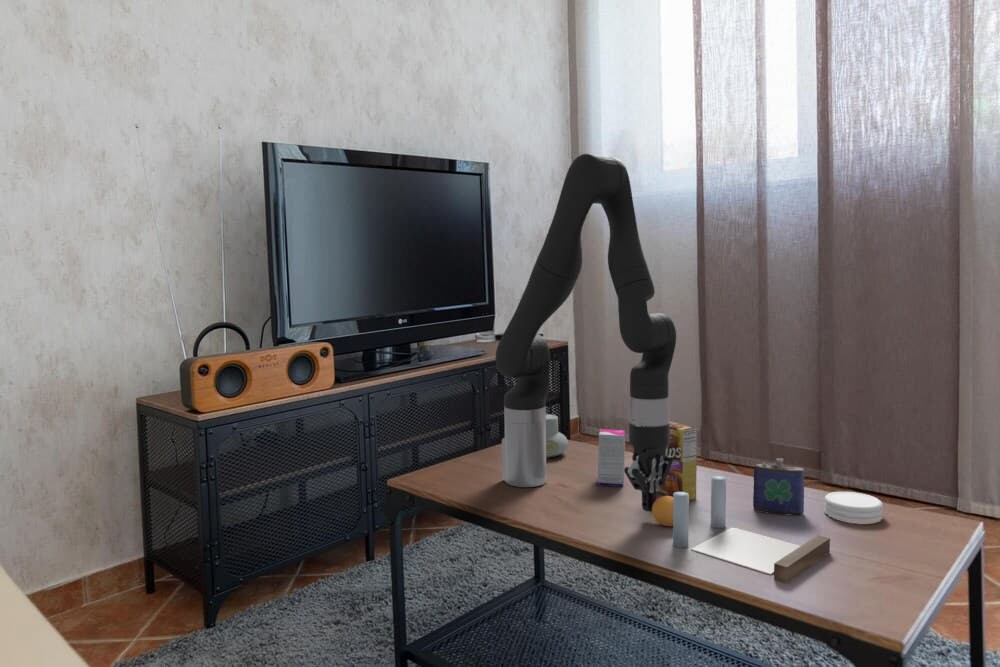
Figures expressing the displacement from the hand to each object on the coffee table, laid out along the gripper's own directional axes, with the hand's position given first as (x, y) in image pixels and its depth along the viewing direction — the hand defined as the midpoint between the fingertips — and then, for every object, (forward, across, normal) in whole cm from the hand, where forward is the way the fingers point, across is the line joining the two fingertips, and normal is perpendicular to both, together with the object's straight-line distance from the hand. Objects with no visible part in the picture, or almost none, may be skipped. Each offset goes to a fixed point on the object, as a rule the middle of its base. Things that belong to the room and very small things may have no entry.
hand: (649, 510), depth 135 cm
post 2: (+2, -6, +11) cm, 13 cm away
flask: (+2, -21, +15) cm, 26 cm away
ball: (-1, 0, +4) cm, 4 cm away
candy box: (+2, -16, -5) cm, 17 cm away
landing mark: (+2, 0, +20) cm, 20 cm away
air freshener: (+2, -21, -46) cm, 50 cm away
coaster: (+3, -29, +26) cm, 39 cm away
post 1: (+2, +6, +11) cm, 13 cm away
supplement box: (+2, -14, -20) cm, 24 cm away
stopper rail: (+2, 0, +29) cm, 29 cm away
